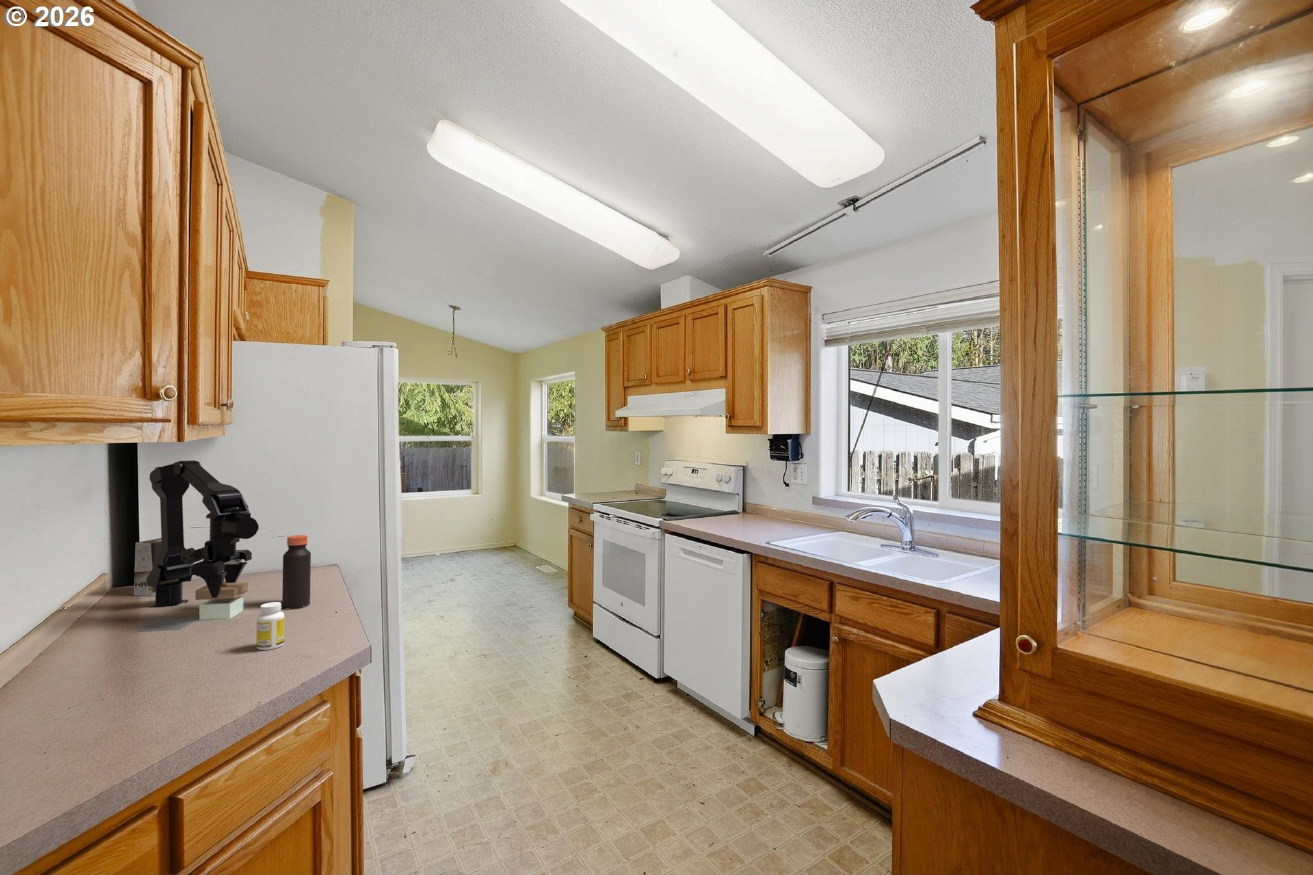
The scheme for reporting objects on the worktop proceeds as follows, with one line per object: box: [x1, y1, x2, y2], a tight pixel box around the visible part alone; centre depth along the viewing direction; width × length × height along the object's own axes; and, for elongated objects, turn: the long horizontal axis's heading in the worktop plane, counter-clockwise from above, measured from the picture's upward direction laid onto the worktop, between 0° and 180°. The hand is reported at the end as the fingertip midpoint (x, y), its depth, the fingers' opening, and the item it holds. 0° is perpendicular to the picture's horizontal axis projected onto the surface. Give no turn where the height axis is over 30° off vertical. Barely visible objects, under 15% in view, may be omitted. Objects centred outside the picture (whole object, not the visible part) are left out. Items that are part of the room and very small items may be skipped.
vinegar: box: [281, 534, 312, 609], centre depth 163 cm, size 7×7×20 cm
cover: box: [194, 581, 249, 601], centre depth 152 cm, size 7×9×4 cm
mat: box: [132, 616, 199, 633], centre depth 144 cm, size 10×10×1 cm
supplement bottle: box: [256, 601, 286, 651], centre depth 132 cm, size 5×5×10 cm
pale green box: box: [198, 595, 244, 621], centre depth 152 cm, size 7×7×4 cm
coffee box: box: [133, 537, 162, 597], centre depth 174 cm, size 9×6×16 cm
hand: (222, 593), depth 152 cm, fingers closed on cover, 7 cm apart
